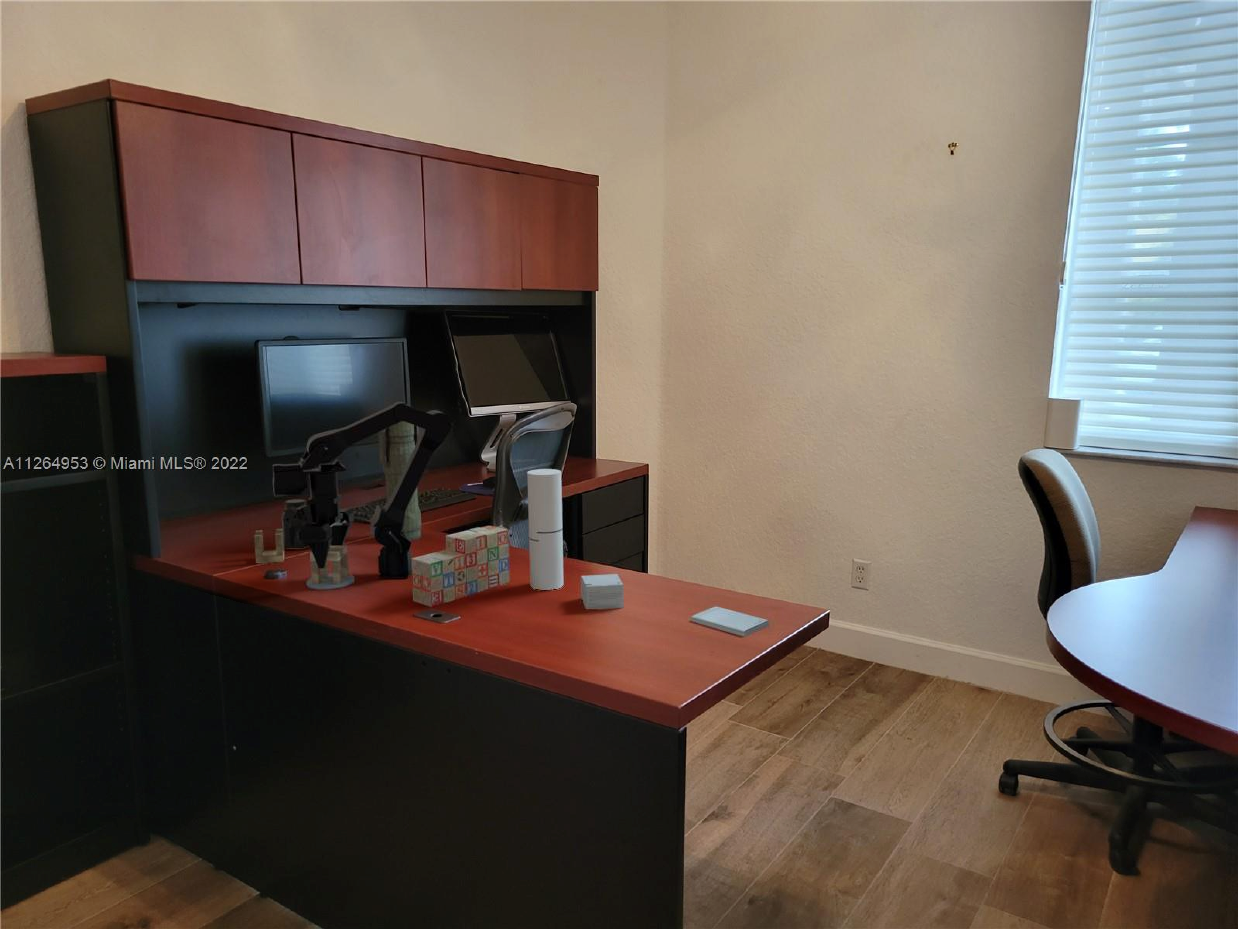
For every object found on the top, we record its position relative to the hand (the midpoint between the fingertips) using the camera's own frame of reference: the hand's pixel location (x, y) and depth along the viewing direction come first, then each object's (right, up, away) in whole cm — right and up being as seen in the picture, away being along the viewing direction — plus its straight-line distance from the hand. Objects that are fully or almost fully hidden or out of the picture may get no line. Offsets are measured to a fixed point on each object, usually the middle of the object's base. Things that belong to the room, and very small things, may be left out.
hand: (329, 562), depth 194 cm
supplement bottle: (-18, 0, +31) cm, 36 cm away
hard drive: (+85, -9, -26) cm, 89 cm away
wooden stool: (0, -4, +1) cm, 4 cm away
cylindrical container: (+48, -5, -3) cm, 48 cm away
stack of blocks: (+30, -6, -6) cm, 32 cm away
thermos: (+7, +2, +40) cm, 40 cm away
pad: (0, -5, +1) cm, 5 cm away
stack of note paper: (+60, -7, -14) cm, 62 cm away
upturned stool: (-20, -2, +19) cm, 28 cm away
